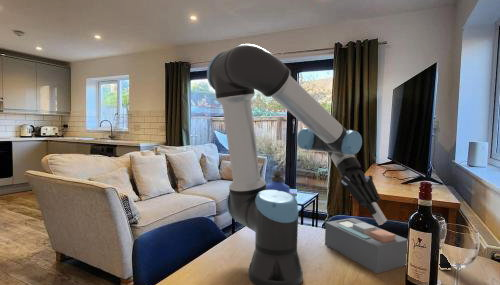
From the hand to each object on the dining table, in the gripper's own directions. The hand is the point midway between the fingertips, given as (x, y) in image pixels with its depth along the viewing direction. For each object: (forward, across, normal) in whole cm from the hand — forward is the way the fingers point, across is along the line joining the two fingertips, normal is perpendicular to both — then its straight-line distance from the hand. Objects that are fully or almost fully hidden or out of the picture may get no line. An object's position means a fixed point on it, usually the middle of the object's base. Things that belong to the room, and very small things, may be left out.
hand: (382, 222), depth 92 cm
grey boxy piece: (+4, 0, -14) cm, 15 cm away
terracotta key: (+5, 0, -4) cm, 6 cm away
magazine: (+15, -16, -4) cm, 22 cm away
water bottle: (-14, +19, -32) cm, 40 cm away
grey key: (-1, 0, -10) cm, 10 cm away
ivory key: (-5, 0, -16) cm, 17 cm away
